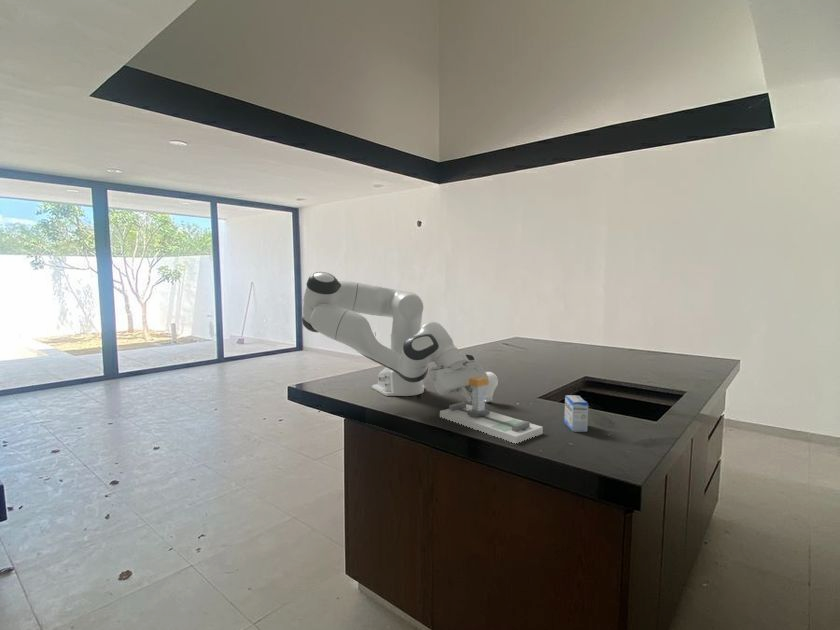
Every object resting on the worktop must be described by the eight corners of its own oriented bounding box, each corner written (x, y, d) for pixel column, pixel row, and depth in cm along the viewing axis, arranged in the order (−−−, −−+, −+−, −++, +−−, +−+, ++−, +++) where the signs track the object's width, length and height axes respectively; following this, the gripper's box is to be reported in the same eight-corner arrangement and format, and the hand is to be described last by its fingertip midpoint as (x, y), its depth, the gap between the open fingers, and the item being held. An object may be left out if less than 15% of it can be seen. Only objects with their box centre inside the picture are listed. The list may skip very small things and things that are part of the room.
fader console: (439, 417, 139) (439, 406, 139) (466, 409, 147) (466, 399, 147) (515, 444, 116) (515, 431, 116) (542, 433, 124) (542, 421, 124)
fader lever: (467, 414, 134) (467, 378, 133) (479, 411, 138) (480, 375, 137) (477, 417, 131) (477, 380, 130) (489, 414, 135) (489, 378, 134)
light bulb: (486, 399, 160) (486, 369, 159) (501, 402, 155) (501, 371, 154) (474, 402, 155) (475, 372, 155) (490, 406, 151) (490, 374, 150)
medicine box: (563, 423, 133) (564, 394, 133) (578, 423, 133) (579, 395, 132) (572, 432, 125) (572, 402, 125) (587, 432, 125) (588, 402, 125)
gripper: (431, 362, 134) (453, 400, 127) (478, 355, 147) (500, 389, 140) (422, 374, 138) (443, 412, 131) (468, 366, 150) (489, 400, 144)
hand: (473, 400), depth 135 cm, fingers closed, pressing on fader lever
